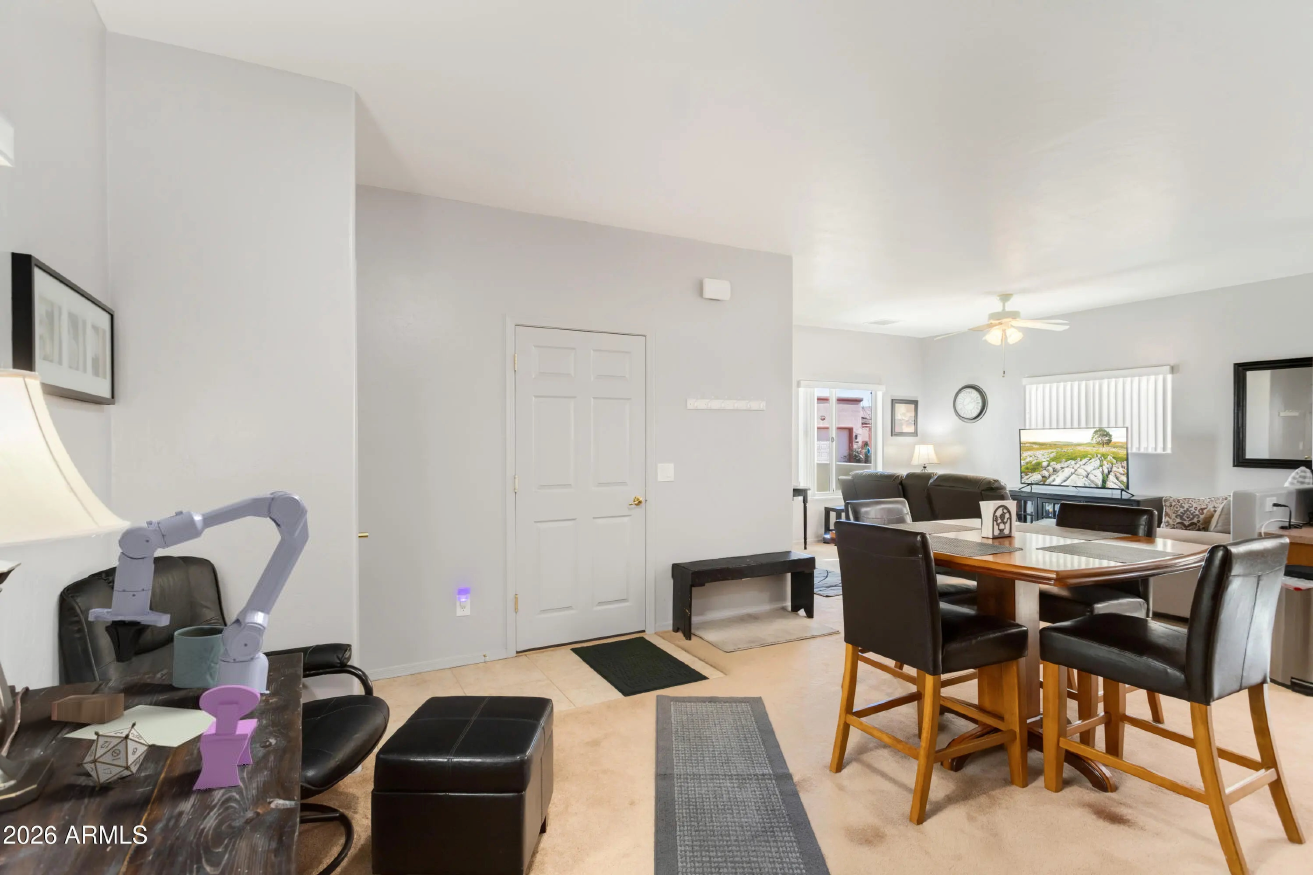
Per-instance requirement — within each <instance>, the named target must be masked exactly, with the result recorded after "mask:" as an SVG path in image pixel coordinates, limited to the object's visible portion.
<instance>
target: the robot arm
mask: <svg viewBox="0 0 1313 875" xmlns="http://www.w3.org/2000/svg"><path fill="white" fill-rule="evenodd" d="M174 514H175V515H170V516H168V517H164V518H160V519H158V520H153V519H149V520H146V525H145V526H144V525H134V526H131V527H128V528H127V529H126V530H124V531H123V532H122V533H121V535H120V537H119V539H118V542H117V543H118V547H119V548H120V550H121V551H120V553H119V555H118V558H117V559H118V560H117V561H118V564H117V565H116V568H115V576H114V577H115V578H114V586H113V592H112V602H111V608H99V607H98V608H93V609H90V610H89V611H88V619H87V620H88V621H90V622H94V621H105V622H111V623H110V624H109V625H105V627H104V631H105V632H106V634H107V635H108V637H109V639H110V642H111V644H112V648H113V651H114V655H115V656H114V657H115V660H116V661H115V662H116V663H122V664H123V663H127V662H130V661H132V660H133V657H134V654H135V652H136V650H137V648H138V645H139V644H140V642H141V640H142V639H143V637H144V636H145V634H146V633H147V631H148V630H149V629H150V627H151V626H156V627H164V626H168V625H169V624H170V620H171V613H162V612H158V611H153V610H150V604H151V598H152V597H151V595H152V590H153V588H152V587H153V581H154V580H153V579H154V572H155V564H154V559H155V553H156V552H157V551H158V549H162V550H165V549H168V548H171V547H174V546H177V545H181V544H183V543H186V542H189V541H193V540H195V539H198V538H200V537H201V536H202V535H203V534H204V532H205V530H206V529H209V528H212V527H215V526H220V525H222V524H227V523H229V522H233V521H236V520H240V519H243V518H247V517H257V518H263V519H268V518H269V520H270V521H272V522H273V523H274V524H275V527H276V530H277V532H278V533H279V536H280V539H279V541H278V543H277V545H276V546H275V549H274V552H273V553H272V555H271V557H270V559H269V560H268V562H267V563H266V566H265V568H264V569H263V572H262V573H261V576H260V577H259V579H258V581H257V583H256V584H255V587H254V589H253V591H252V592H251V594H250V596H249V597H248V600H247V602H246V603H245V605H244V607H242V609H241V610H240V611H239V612H238V613H237V615H236V617H235V618H234V619H233V620H232V621H231V622H230V623H229V624H228V625H226V626H225V627H226V628H225V629H224V630H223V632H222V635H221V641H222V644H223V645H224V646H225V647H226V649H225V650H224V652H223V653H222V654H221V655H220V659H219V667H218V676H217V684H216V687H219V686H225V685H241V686H246V687H250V688H252V689H255V690H256V691H258V692H259V694H270V690H266V689H267V680H268V672H269V660H268V658H267V656H266V655H265V654H264V653H262V652H261V650H262V647H263V644H264V635H265V631H266V630H267V628H268V623H269V622H268V621H269V616H270V614H271V612H272V610H273V608H274V606H275V605H276V602H277V600H278V598H279V596H280V595H281V593H282V591H283V588H284V587H285V586H286V583H287V581H288V579H289V577H290V575H291V573H292V571H293V570H294V568H295V565H296V563H297V562H298V560H299V559H300V557H301V555H302V552H303V551H304V549H305V546H306V545H307V543H308V541H309V537H310V534H309V533H310V532H309V524H308V509H307V507H306V505H305V503H304V502H303V499H301V497H300V496H298V495H297V494H294V493H289V492H286V491H284V490H275V491H273V492H270V493H263V494H262V493H261V494H258V495H254V496H250V497H246V498H244V499H241V500H238V501H235V502H232V503H229V504H227V505H223V506H220V507H217V508H214V509H211V510H209V511H206V512H202V513H197V512H195V511H192V510H188V511H185V512H184V510H183V509H180V510H177V511H175V512H174Z"/></svg>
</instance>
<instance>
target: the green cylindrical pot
mask: <svg viewBox="0 0 1313 875" xmlns="http://www.w3.org/2000/svg"><path fill="white" fill-rule="evenodd" d="M226 627H227V626H220V625H198V626H189V627H185V628H181V629H178V630H176V631H175V632H174V634H173V652H174V655H173V660H172V662H173V666H172V670H173V671H172V683H171V684H172V686H174V687H175V688H180V689H195V688H200V689H201V688H203V689H213V688H216V684H217V676H218V667H219V659H220V655H221V654H222V653H223V652H224V650H225V649H226V647H225V646H224V645H223V644H222V641H221V635H222V632H223V630H224V629H225V628H226Z"/></svg>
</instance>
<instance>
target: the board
mask: <svg viewBox="0 0 1313 875" xmlns="http://www.w3.org/2000/svg"><path fill="white" fill-rule="evenodd" d="M213 721H216V718H215V717H213V716H211V715H210V714H208V713H207V712H205V711H204V710H202V709H201V710H200V709H191V708H189V709H188V708H178V707H167V706H157V705H156V706H155V705H146V704H145V705H143V704H139V705H136V706H134V707H131V708H128V709H127V710H124V715H123V716H121V717H118V718H116V719H114V720H111V721H109V722H106V723H95V724H90V725H88V726H86V727H83V728H81V729H78V730H76V731H72V732H70V733H67V734H66V735H63V736H62V737H63V738H65V737H66V738H74V739H85V740H86V739H87V740H94V741H95V740H96V738H97V736H95V735H94V734H95V731H97V732H98V731H99V734H104V733H109V732H113V731H117V730H121V729H126V728H130V727H131V726H132V723H134V722H136V725H135V726H134V729H135V730H136V731H137V732H138V733H139V734H140V735H141V737H142V738H143V739H144V740H145V741H146V742H147V743H148V744H149V745H151V744H157V745H156V746H162V747H163V746H164V747H171V748H172V747H174V748H177V747H178V746H180V745H182V744H185V743H186V742H187V741H189V740H192V739H194V738H195V737H198V736H199V735H200V736H201V735H202V734H203V733H204V732H205V731H206V730H207V729H208V728H209V726H210V725H211V723H212V722H213Z"/></svg>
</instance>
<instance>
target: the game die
mask: <svg viewBox="0 0 1313 875" xmlns="http://www.w3.org/2000/svg"><path fill="white" fill-rule="evenodd" d="M135 725H136V722H134V723H132V726H131V727H130V728H126V729H121V730H117V731H113V732H109V733H104V734H99V731H98V732H97V731H95V734H94V735H95V736H97V738H96V740H95V739H94V742H93V743H92V745H91V747H90V749H89V751H88V752H87V754H85V756H84V758H83V761H82V762H77V763H76V764H75V765H74V767H76V768H79V767H81V766H82V767H83V768H84V769H85V770H86V771H87V772H88V774H89V775H90V776H91V777H92V778H93V779H94V781H95V782H97V785H96V786H95V791H96V790H97V791H98V790H100V789H101V787H102V785H104V784H107V783H110V782H114V781H118V780H119V779H120V778H123V777H127V776H130V775H134V774H136V773H137V771H138V769H139V768H140V766H141V764H142V762H143V760H144V758H146V755H147V753H148V752H149V750H150V748H155V747H156V746H158V745H157V744H151V745H149V744H148V743H147V742H146V741H145V740H144V739H143V738H142V737H141V735H140V734H139V733H138V732H137V731H136V730H135V729H134V726H135Z"/></svg>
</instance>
